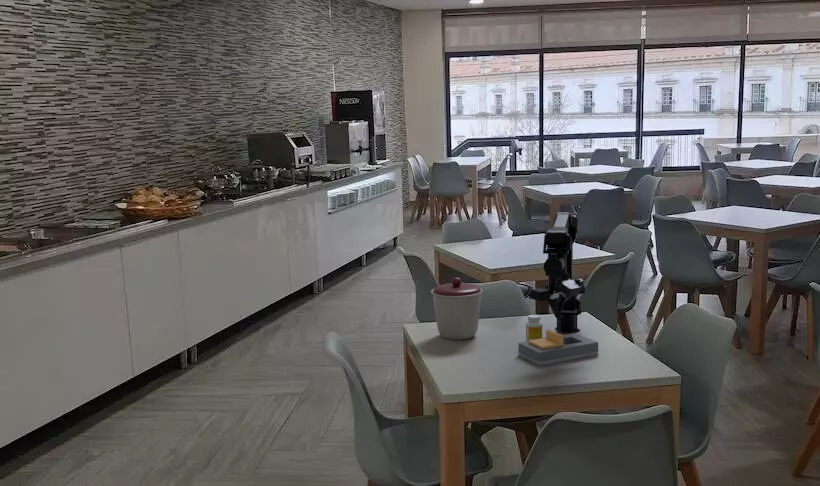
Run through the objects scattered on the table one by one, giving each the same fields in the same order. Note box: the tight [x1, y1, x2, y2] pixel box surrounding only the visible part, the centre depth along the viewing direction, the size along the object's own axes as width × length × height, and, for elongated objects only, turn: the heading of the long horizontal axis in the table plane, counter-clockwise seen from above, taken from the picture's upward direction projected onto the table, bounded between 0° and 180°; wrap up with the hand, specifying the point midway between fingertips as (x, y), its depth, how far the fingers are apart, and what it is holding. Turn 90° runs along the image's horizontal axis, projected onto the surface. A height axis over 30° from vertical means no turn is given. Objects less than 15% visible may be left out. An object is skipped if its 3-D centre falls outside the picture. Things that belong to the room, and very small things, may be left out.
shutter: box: [529, 329, 563, 349], centre depth 240 cm, size 8×8×3 cm
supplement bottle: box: [525, 314, 543, 342], centre depth 255 cm, size 5×5×10 cm
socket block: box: [518, 332, 599, 366], centre depth 243 cm, size 22×12×4 cm, turn 114°
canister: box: [430, 277, 484, 341], centre depth 266 cm, size 18×18×21 cm
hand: (557, 317), depth 242 cm, fingers closed
